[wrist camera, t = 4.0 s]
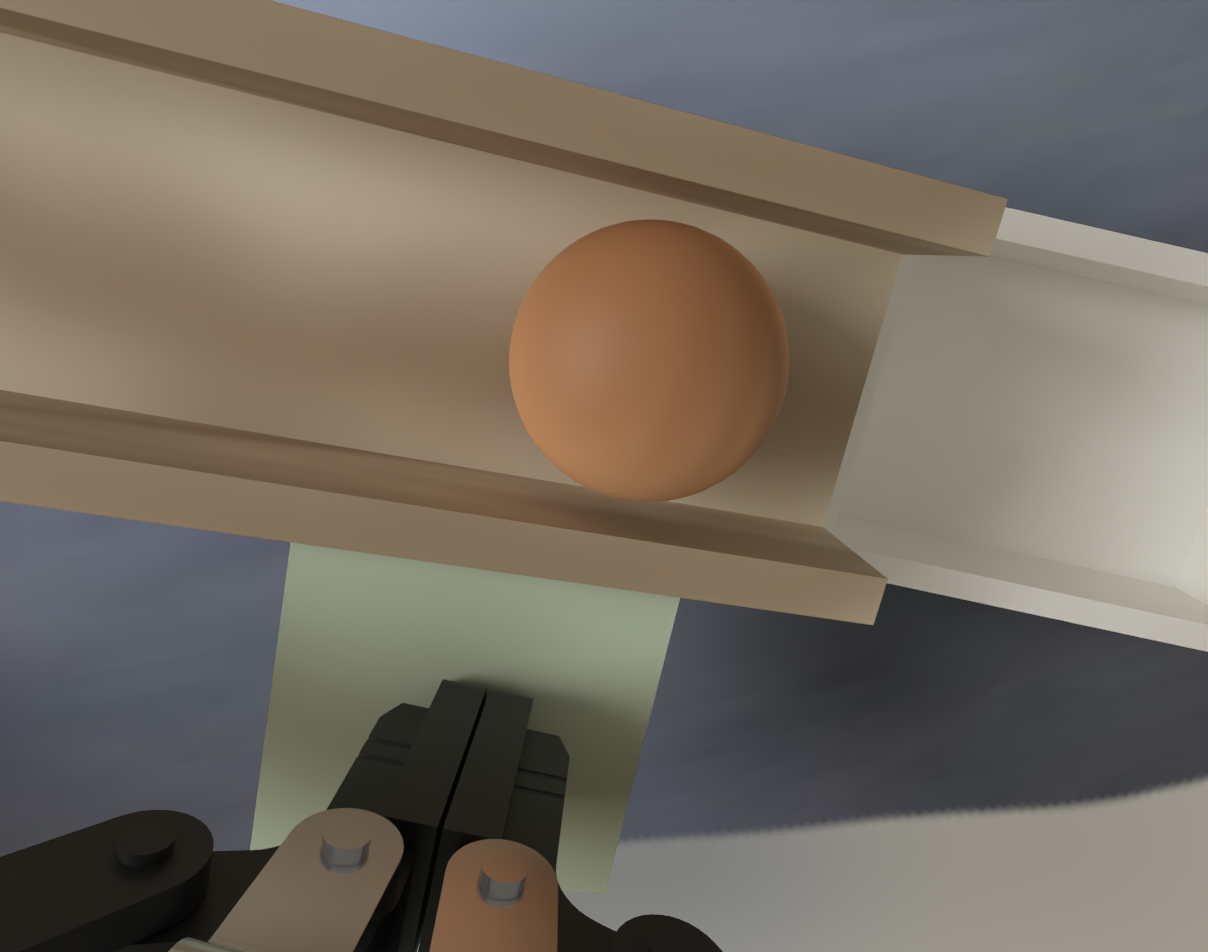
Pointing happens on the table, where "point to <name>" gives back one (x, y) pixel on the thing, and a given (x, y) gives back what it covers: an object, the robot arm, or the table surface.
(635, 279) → the ball
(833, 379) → the tilting chute
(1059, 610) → the bin
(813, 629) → the table surface
